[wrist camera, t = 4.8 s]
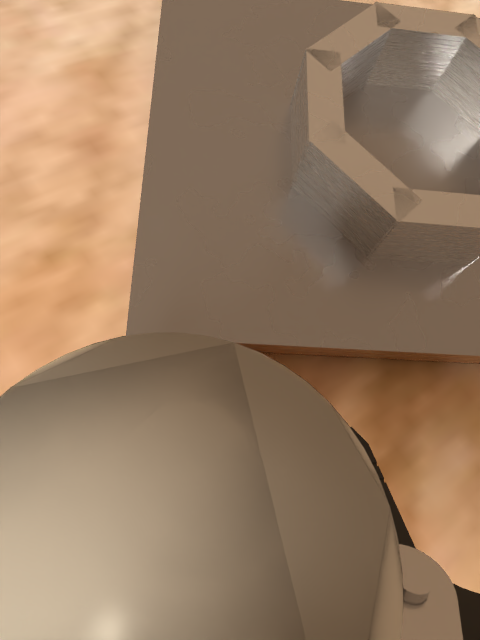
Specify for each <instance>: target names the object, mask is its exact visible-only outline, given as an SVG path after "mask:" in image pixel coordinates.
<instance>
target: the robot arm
mask: <svg viewBox="0 0 480 640" xmlns="http://www.w3.org/2000/svg"><path fill="white" fill-rule="evenodd" d="M350 428H351V430H352V431H353V433H354V434H355V435H356V437H357V438H358V440H359V441H360V443H361V444H362V446H363V447H364V449H365V451H366V453H367V455H368V457H369V459H370V461H371V463H372V465H373V466H374V468H375V470H376V472H377V474H378V476H379V479H380V481H381V484H382V487H383V489H384V492H385V495H386V497H387V500H388V503H389V505H390V509H391V513H392V517H393V521H394V525H395V529H396V533H397V537H398V542H399V549H400V557H401V564H402V571H403V605H404V610H403V621H402V633H401V640H480V594H479V593H475V592H472V591H469V590H466V589H464V588H461V587H459V586H457V585H455V584H453V583H452V581H451V580H450V578H449V576H448V575H447V574H446V572H445V571H444V570H443V569H442V568H441V567H440V565H439V564H438V563H437V562H435V561H434V560H433V559H432V558H431V557H429V556H428V555H426V554H425V553H423V552H421V551H419V550H417V549H416V548H415V546H414V544H413V542H412V539H411V537H410V535H409V533H408V530H407V528H406V526H405V524H404V522H403V519H402V517H401V515H400V513H399V511H398V508H397V506H396V504H395V502H394V500H393V497H392V495H391V493H390V491H389V489H388V486H387V484H386V483H384V477H383V475H382V473H381V471H380V469H379V466H377V462H376V460H375V458H374V455H373V453H372V451H371V449H370V447H369V444H368V443H367V442H366V441H365V440H364V439H363V438H362V437H361V436H360V435H359V434H358V433H357V432H356V431H355V430H354V429H353V428H352V427H350Z"/></svg>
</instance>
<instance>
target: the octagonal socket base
mask: <svg viewBox="0 0 480 640" xmlns="http://www.w3.org/2000/svg"><path fill="white" fill-rule="evenodd" d="M170 332H180V333H188V334H197V335H205V336H210V337H214V338H218V339H222V340H226V341H230V342H234V343H237V344H239V345H242V346H244V347H247V348H250V349H252V350H255V351H257V352H265V353H284V354H304V355H323V356H342V357H362V358H381V359H400V360H420V361H439V362H458V363H478V364H480V18H477V17H476V16H475V15H474V14H473V15H471V14H464V13H456V12H448V11H440V10H432V9H425V8H417V7H409V6H401V5H394V4H386V3H378V2H375V4H365V3H357V2H350V1H342V0H162V9H161V18H160V27H159V36H158V45H157V55H156V64H155V73H154V82H153V91H152V101H151V110H150V119H149V128H148V137H147V147H146V156H145V165H144V174H143V183H142V193H141V202H140V211H139V220H138V229H137V239H136V248H135V257H134V266H133V275H132V285H131V294H130V303H129V312H128V321H127V331H126V336H129V335H136V334H144V333H170Z"/></svg>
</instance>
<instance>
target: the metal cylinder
mask: <svg viewBox="0 0 480 640" xmlns="http://www.w3.org/2000/svg"><path fill="white" fill-rule="evenodd" d="M403 610H404V605H403V571H402V564H401V557H400V549H399V542H398V537H397V533H396V529H395V525H394V521H393V517H392V513H391V509H390V505H389V503H388V500H387V497H386V495H385V492H384V489H383V487H382V484H381V481H380V479H379V476H378V474H377V472H376V470H375V468H374V466H373V465H372V463H371V461H370V459H369V457H368V455H367V453H366V451H365V449H364V447H363V446H362V444H361V443H360V441H359V440H358V438H357V437H356V435H355V434H354V433H353V431H352V430H351V428H350V427H349V425H348V424H347V422H346V421H345V420H344V419H343V418H342V417H341V415H340V414H339V413H338V412H337V411H336V410H335V408H334V407H333V406H332V405H331V404H330V403H329V401H327V400H326V399H325V398H324V397H323V396H322V395H321V394H320V393H319V392H318V391H317V390H315V389H314V388H313V387H312V386H311V385H310V384H309V383H308V382H307V381H305V380H304V379H302V378H301V377H300V376H298V375H297V374H295V373H294V372H292V371H291V370H290V369H288V368H287V367H285V366H284V365H282V364H280V363H278V362H277V361H275V360H273V359H271V358H269V357H267V356H265V355H264V354H262V353H260V352H257V351H255V350H252V349H250V348H247V347H244V346H242V345H239V344H237V343H234V342H230V341H226V340H222V339H218V338H214V337H210V336H205V335H197V334H188V333H180V332H170V333H144V334H136V335H129V336H122V337H118V338H114V339H110V340H106V341H102V342H98V343H94V344H91V345H89V346H86V347H84V348H81V349H78V350H76V351H73V352H71V353H68V354H66V355H64V356H62V357H60V358H58V359H56V360H54V361H52V362H50V363H48V364H47V365H45V366H43V367H41V368H39V369H37V370H36V371H34V372H33V373H31V374H30V375H28V376H27V377H25V378H24V379H23V380H21V381H20V382H18V383H17V384H15V385H14V386H12V387H11V388H10V389H9V390H7V391H6V392H5V393H4V394H3V395H2V396H0V640H401V633H402V621H403Z"/></svg>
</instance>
